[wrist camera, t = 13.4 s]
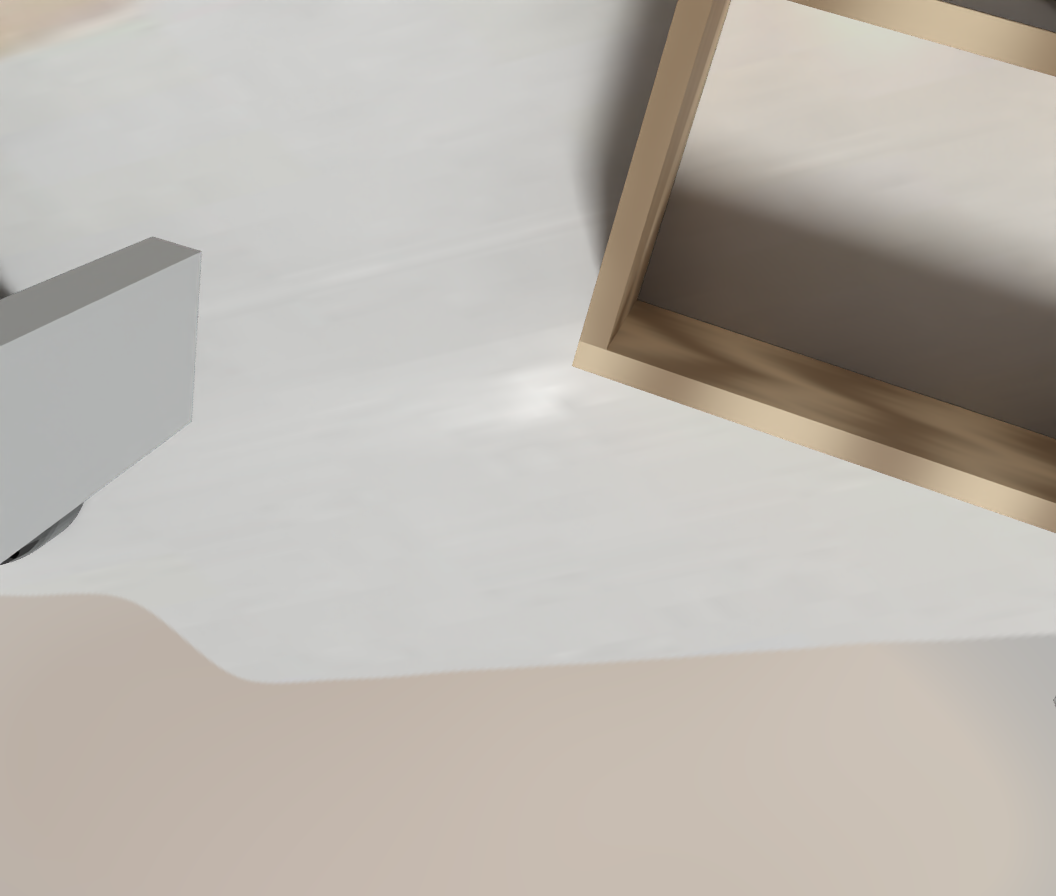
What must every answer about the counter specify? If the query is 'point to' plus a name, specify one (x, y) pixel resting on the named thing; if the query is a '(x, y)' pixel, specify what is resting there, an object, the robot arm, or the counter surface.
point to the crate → (781, 375)
